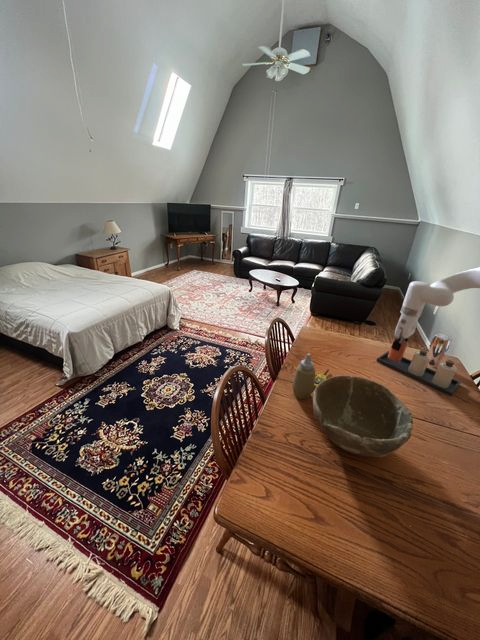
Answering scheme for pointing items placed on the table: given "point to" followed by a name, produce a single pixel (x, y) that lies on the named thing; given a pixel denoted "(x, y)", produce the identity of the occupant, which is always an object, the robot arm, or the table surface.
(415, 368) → the cream bottle
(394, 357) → the terracotta bottle
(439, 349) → the beer glass
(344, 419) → the bowl
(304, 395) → the squeeze bottle
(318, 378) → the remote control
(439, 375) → the cream bottle
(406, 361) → the tray
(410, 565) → the table surface
